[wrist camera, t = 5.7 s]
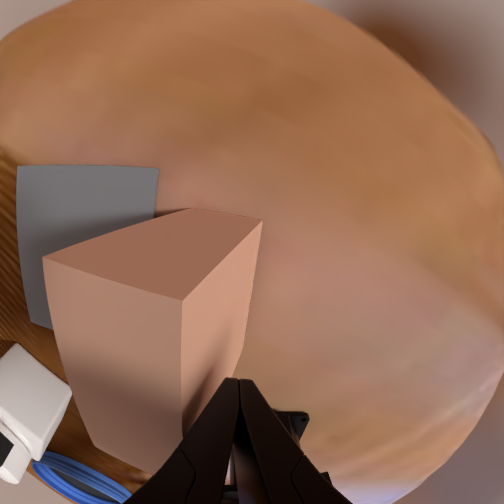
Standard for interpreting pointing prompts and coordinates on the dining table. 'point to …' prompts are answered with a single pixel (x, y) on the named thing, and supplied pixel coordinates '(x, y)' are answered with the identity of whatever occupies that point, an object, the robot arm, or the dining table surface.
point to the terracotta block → (152, 325)
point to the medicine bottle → (27, 410)
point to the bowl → (78, 480)
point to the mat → (73, 215)
